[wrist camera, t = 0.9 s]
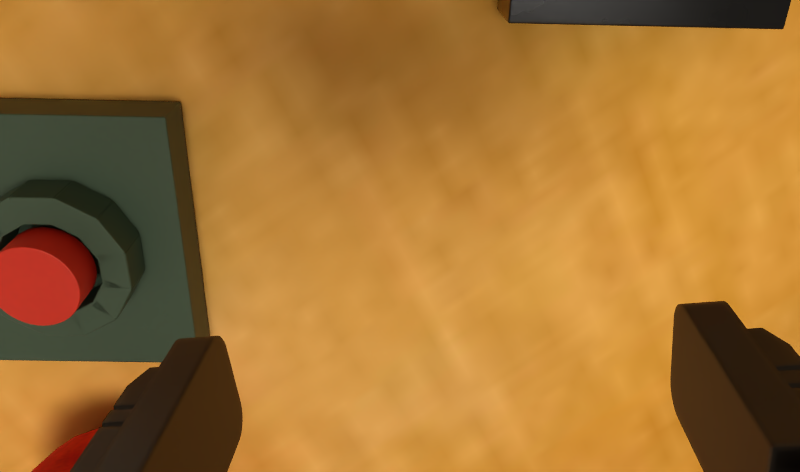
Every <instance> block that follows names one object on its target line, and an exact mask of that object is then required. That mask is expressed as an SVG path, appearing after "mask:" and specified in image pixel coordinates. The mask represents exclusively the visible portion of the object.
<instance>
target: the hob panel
mask: <svg viewBox="0 0 800 472" xmlns="http://www.w3.org/2000/svg"><path fill="white" fill-rule="evenodd" d="M790 2H791V0H498V7H497V9H498V10H499V12H500V13H501V14H502V15H503V17H504V18H505V19H506V20H507V21H508V23H529V24H573V25H617V26H661V27H705V28H749V29H783V28H784V25H785V21H786V17H787V14H788V10H789V6H790Z"/></svg>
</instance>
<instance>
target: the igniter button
mask: <svg viewBox="0 0 800 472" xmlns="http://www.w3.org/2000/svg"><path fill="white" fill-rule="evenodd" d="M96 278H97V269H96V264H95V261H94V259H93V257H92V255H91V253H90V252H89V250H88V249H87V248H86V247H85V246H84V245H83V243H81V242H80V241H79V240H78V239H76V238H75V237H73V236H72V235H70V234H68V233H66V232H64V231H61V230H58V229H54V228H48V227H37V228H31V229H28V230H25V231H23V232H21V233H20V234H18V235H17V236H16V237H15V238H14V239H13V240H12V241H10V242H9V243H8V244H7V245H6V246H5V247H4V248H3V249H2V250H1V251H0V308H1V309H2V310H3V311H4V312H6V313H7V314H9V315H10V316H12V317H13V318H15V319H17V320H20V321H22V322H25V323H28V324H33V325H41V326H46V325H54V324H58V323H61V322H63V321H65V320H67V319H68V318H70V317H71V316H72V315H73V314H74V313H75V312H76V310H77V309H78V308H79V306H80V305H81V303H82V302H83V301H84V299H85V298H86V297H87V295H88V294H89V293H90V291H91V290H92V289H93V287H94V285H95V282H96Z"/></svg>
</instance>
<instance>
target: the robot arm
mask: <svg viewBox="0 0 800 472" xmlns="http://www.w3.org/2000/svg"><path fill="white" fill-rule="evenodd" d="M671 393H672V399H673V404H674V408H675V411H676V414H677V417H678V419H679V421H680V423H681V425H682V427H683V429H684V431H685V433H686V436H687V438H688V440H689V442H690V444H691V446H692V448H693V450H694V452H695V454H696V456H697V459H698V461H699V463H700V465H701V467H702V469H703V471H704V472H800V356H799V355H798V354H797V353H796V352H795V350H794V349H793V348H792V347H791V346H790V344H788V343H786V342H785V341H783V340H781V339H780V338H778V337H776V336H775V335H773V334H771V333H770V332H768V331H766V330H765V329H763V328H753V329H747V328H746V327H745V326H744V324H743V323H742V322H741V320H740V319H739V318H738V316H737V315H736V314H735V312H734V311H733V310H732V308H731V307H730V306H729V305H728V303H726V302H725V301H717V302H702V303H688V304H678V305H677V307H676V309H675V313H674V326H673V344H672V362H671ZM241 431H242V407H241V402H240V398H239V394H238V391H237V387H236V383H235V379H234V375H233V371H232V367H231V364H230V360H229V356H228V352H227V348H226V345H225V343H224V341H223V339H222V338H221V337H220V336H208V337H194V338H180V339H177V340H176V341H175V342H174V344H173V345H172V347H171V349H170V350H169V352H168V353H167V355H166V356H165V358H164V360H163V361H162V363H161V364H160V366H159V367H153V368H149V369H148V370H147V371H145V372H144V373H143V374H142V375H140V376H139V377H138V378H137V379H135V380H134V381H133V382H132V383H130V384H129V385H128V386H127V387H126V389H125V390H124V392H123V393H122V394H121V396H120V397H119V399H118V400H117V402H116V403H115V405H114V410H111V411H110V412H109V414H108V415H107V417H106V418H105V420H104V421H103V423H102V427H99V429H98V430H97V432H96V433H95V435H94V436H93V437H92V439H91V440H90V442H89V443H88V445H87V446H86V448H85V449H84V451H83V452H82V454H81V455H80V457H79V458H78V460H77V461H76V463H75V464H74V466H73V467H72V469H71V470H70V472H227V471H228V468H229V466H230V463H231V460H232V458H233V455H234V453H235V450H236V448H237V445H238V442H239V440H240V436H241Z"/></svg>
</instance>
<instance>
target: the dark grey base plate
mask: <svg viewBox="0 0 800 472" xmlns="http://www.w3.org/2000/svg"><path fill="white" fill-rule="evenodd" d="M37 227H48V228H54V229H58V230H61V231H64V232H66V233H68V234H70V235H72V236H73V237H75V238H76V239H78V240H79V241H80V242H81V243H83V245H84V246H85V247H86V248H87V249H88V250H89V252H90V253H91V255H92V257H93V259H94V261H95V264H96V269H97V278H96V282H95V285H94V287H93V289H92V290H91V291H90V293H89V294H88V295H87V297H86V298H85V299H84V301H83V302H82V303H81V305H80V306H79V308H78V309H77V310H76V312H75V313H74V314H73V315H72V316H71V317H70V318H68V319H67V320H65V321H63V322H61V323H58V324H54V325H46V326H41V325H33V324H28V323H25V322H22V321H20V320H17V319H15V318H13V317H12V316H10V315H9V314H7V313H6V312H4V311H3V310H2V309H1V308H0V360H40V361H110V362H162V361H163V360H164V358H165V356H166V355H167V353H168V352H169V350H170V349H171V347H172V345H173V344H174V342H175V341H176V340H177V339H180V338H194V337H208V336H210V334H209V326H208V318H207V310H206V302H205V294H204V286H203V278H202V270H201V262H200V254H199V246H198V238H197V230H196V222H195V214H194V206H193V198H192V190H191V182H190V174H189V166H188V158H187V150H186V142H185V134H184V126H183V118H182V110H181V103H180V102H165V101H116V100H68V99H19V98H0V251H1V250H2V249H3V248H4V247H5V246H6V245H7V244H8V243H9V242H10V241H12V240H13V239H14V238H15V237H16V236H17V235H18V234H20V233H21V232H23V231H25V230H28V229H31V228H37Z"/></svg>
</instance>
